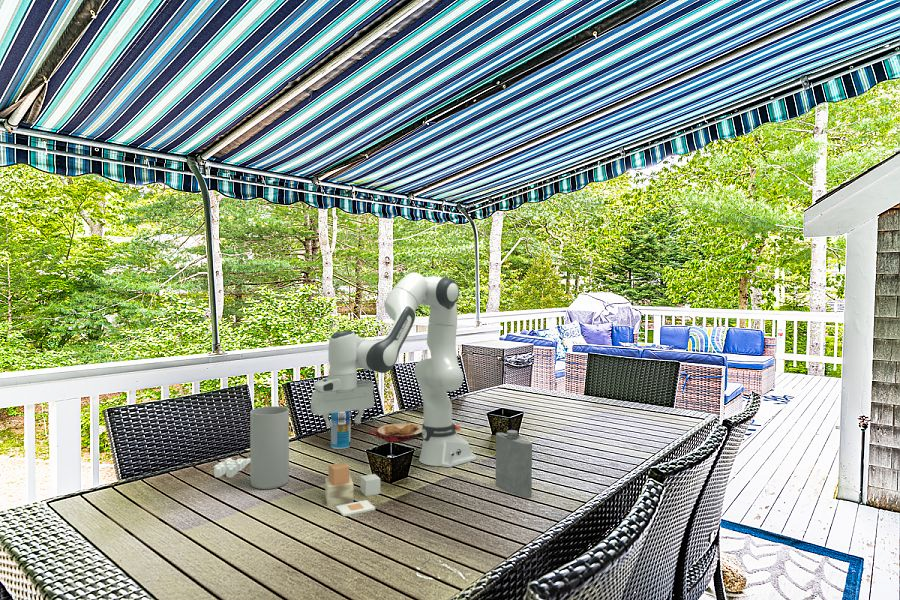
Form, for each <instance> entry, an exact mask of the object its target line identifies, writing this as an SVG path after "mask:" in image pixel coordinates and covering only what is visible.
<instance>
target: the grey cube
mask: <svg viewBox="0 0 900 600" xmlns="http://www.w3.org/2000/svg"><path fill="white" fill-rule="evenodd" d="M359 490H360V493H362V494H363V496H365V497H368V496H369V497H370V496H374V495H379V494H381V478H380V477H379V476H378V475H377V474H376V473H372V474H371V473H370V474H368V475H366V474H365V475H361V476H360V489H359Z"/></svg>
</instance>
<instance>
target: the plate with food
mask: <svg viewBox="0 0 900 600" xmlns="http://www.w3.org/2000/svg"><path fill="white" fill-rule="evenodd" d="M422 426H423V424H419V423H412V422H409V421H406V422H403V423H398V422H397V423H392V424H391V423H390V424H389V423H388V424H384V425H382V426H378V427H376V429H374V430H369V431H368V432H367V433H368V434H372V435H374V434H375V435H374V437H375V438H377V439H383V440H384V441H386V442H392V443H396V442H398V443H399V442H401V441H403V442H406V440H410V439H417V438H416V437H417V436H415V435H419V434H422ZM420 437H422V435H421V436H420ZM422 438H423V437H422Z"/></svg>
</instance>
